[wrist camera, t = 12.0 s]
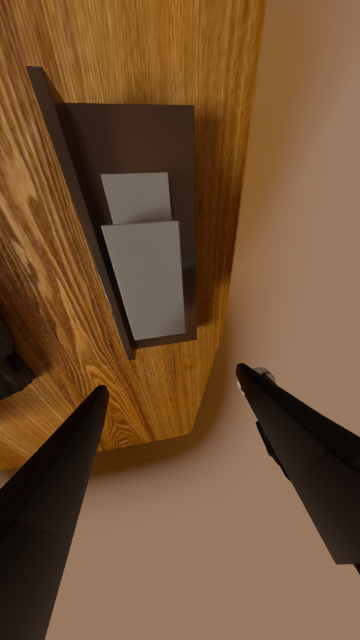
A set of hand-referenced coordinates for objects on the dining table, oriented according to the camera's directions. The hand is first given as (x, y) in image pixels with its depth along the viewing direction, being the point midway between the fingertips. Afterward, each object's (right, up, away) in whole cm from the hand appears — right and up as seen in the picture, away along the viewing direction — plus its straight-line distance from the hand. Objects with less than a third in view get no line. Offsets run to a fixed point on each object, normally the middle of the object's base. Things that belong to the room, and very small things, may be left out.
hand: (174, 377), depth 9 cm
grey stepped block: (-2, +9, +4) cm, 11 cm away
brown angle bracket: (-3, +10, +7) cm, 13 cm away
